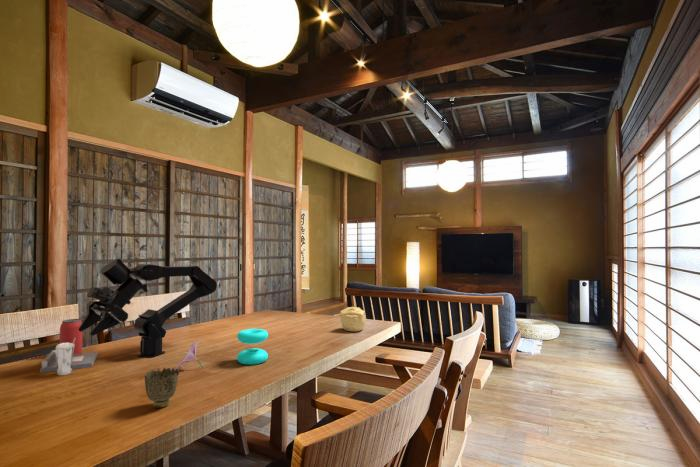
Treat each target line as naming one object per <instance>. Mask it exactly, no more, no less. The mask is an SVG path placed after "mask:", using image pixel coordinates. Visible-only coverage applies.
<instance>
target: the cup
mask: <svg viewBox="0 0 700 467" xmlns="http://www.w3.org/2000/svg"><path fill="white" fill-rule="evenodd" d="M179 373H180V371H179V369H178V368H176V370H175V367H173V368H172V369H171V368H170V367H167V368H166V367H163V369H162V370H160V368H158V369H157V371H156V370H153V369H151V370H150V371H147V372H146V374H143V375H144V385H145V393H146V396H147V398H148V399H149V400H150V401H152V406H153V407H154V408H156V409H161V408H165V407H167V406H168V405H169V404H170V403H171V400H170V399H171V398H172V397H173V396H174V394H175V393H176V391H177V386H178V380H179V379H178V378H179Z"/></svg>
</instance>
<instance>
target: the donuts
mask: <svg viewBox="0 0 700 467" xmlns="http://www.w3.org/2000/svg"><path fill="white" fill-rule="evenodd" d="M268 337H269V333H268V331H267V330H265V329H263V328H262V329H261V328H248V329H243V330H241V331H239V332H237V335H236V338H237V340H238V341H239V342H240V343H242V344H245V345H246V344H247V345H249V344H250V345H254V344H260V343H263V342H265V341H266V340H267V339H268ZM268 358H269V354H268V352H267V351H266V350H264V349H262V348H255V347H254V348H246V349H244V350H241V351H240V352H238V354H237V355H236V360H237V362H238V363H239V364H242V365H246V366H248V365H249V366H250V365H251V366H252V365H259V364H262V363H265V362H266V361H267V359H268Z"/></svg>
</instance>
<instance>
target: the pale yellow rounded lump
mask: <svg viewBox="0 0 700 467" xmlns="http://www.w3.org/2000/svg"><path fill="white" fill-rule="evenodd" d="M365 313H366V312H365V310H363V309H362V308H361V307H360V306H359V307H356V306H350V307H349V306H347V307H346V308H344V309H342V310H340V320H339V321H340V324H341V326H342V328H343V330H344V331H347V332H359V331H362V330H364V328H365V326H366V321H367V318H366V315H365Z"/></svg>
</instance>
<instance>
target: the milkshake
mask: <svg viewBox="0 0 700 467" xmlns="http://www.w3.org/2000/svg"><path fill="white" fill-rule="evenodd" d="M75 339H76V338H74V341H75ZM74 341H73V343H61V344H60V343H59V344H56V346H55V350H56V357H57V371H56V372H57V375H58V376H66V375H70V374H71V373H72V370H73V369H72V361H73V352H74V346H75V345H74Z"/></svg>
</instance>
